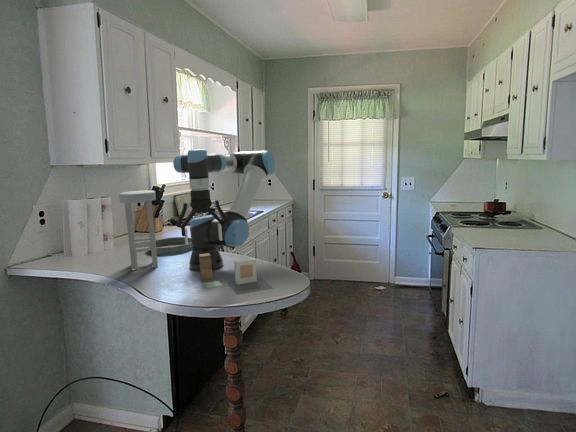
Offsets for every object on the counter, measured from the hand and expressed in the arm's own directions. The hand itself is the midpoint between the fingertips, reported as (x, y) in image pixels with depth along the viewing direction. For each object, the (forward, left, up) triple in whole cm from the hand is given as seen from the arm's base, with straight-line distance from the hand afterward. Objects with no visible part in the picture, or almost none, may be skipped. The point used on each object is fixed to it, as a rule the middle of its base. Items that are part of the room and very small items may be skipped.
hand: (204, 242), depth 166 cm
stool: (-38, -22, -16) cm, 47 cm away
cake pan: (-65, -7, -17) cm, 68 cm away
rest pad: (+8, +1, -16) cm, 18 cm away
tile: (+11, +14, -16) cm, 23 cm away
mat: (+15, +14, -16) cm, 26 cm away
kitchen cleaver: (-62, +22, -17) cm, 68 cm away
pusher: (0, 0, -16) cm, 16 cm away
